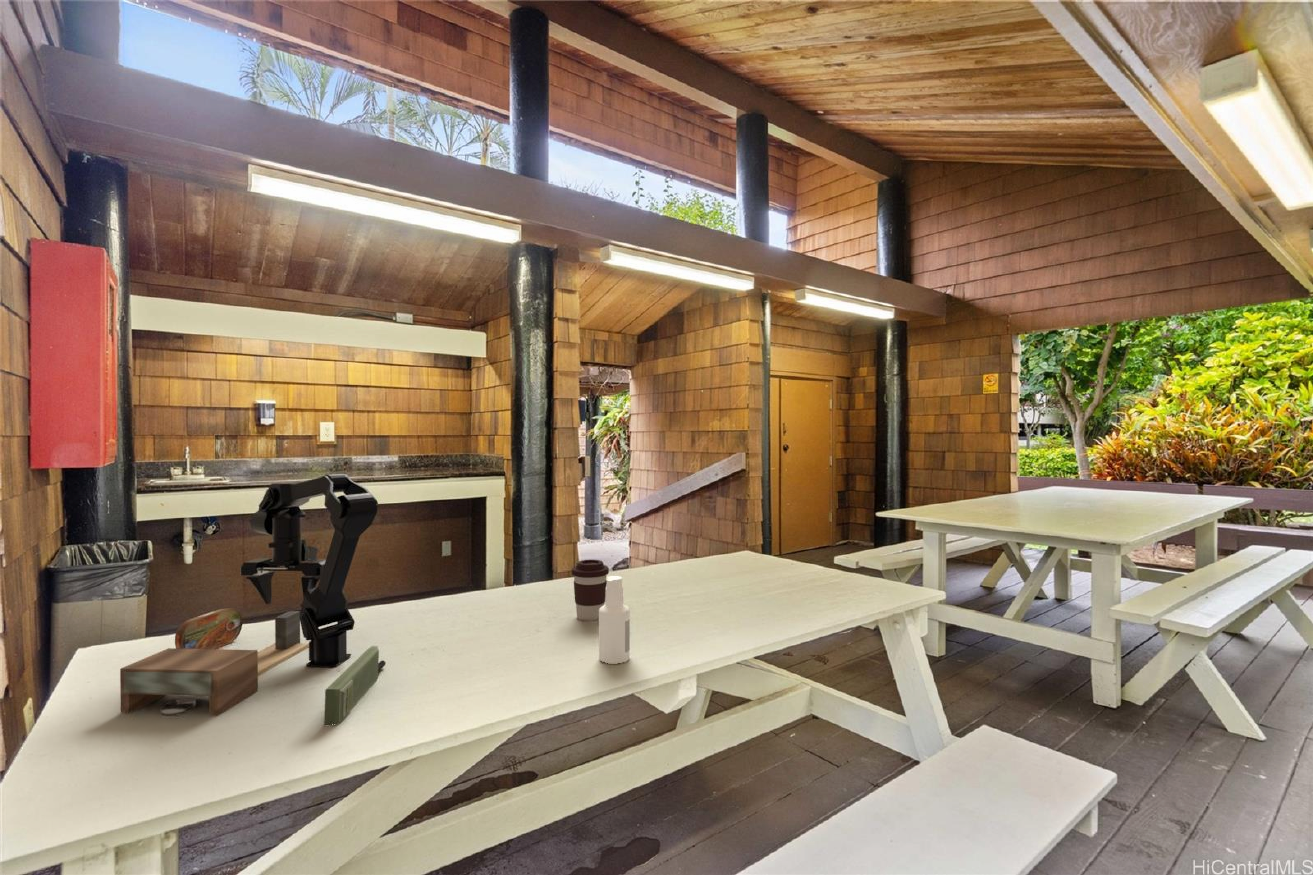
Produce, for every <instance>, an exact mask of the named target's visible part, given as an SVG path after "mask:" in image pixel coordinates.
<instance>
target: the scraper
mask: <svg viewBox="0 0 1313 875" xmlns="http://www.w3.org/2000/svg"><path fill="white" fill-rule="evenodd" d="M300 612H301V610H296V611H295V610H292V611H291V610H289V611H287V612H285V613H282V614H279V615H278V616H276V617H275V618H274V621H275V622H274V625H275V626H274V631H275V633H274V636H275V637H274V639H275V640H274V641H275V643H273V644H271V645H269V646H267V647H265V648H263V649H262V650H260V651H259V650H258V677H259V676H261V675H263V674H265V673H267V672H268V671H270V670H272V669H274V668H275V667H277V666H278V664H279V665H280V664H282V663H284V662H286V661H287V660H289V659H291V658H292V657H294V656H296V655H298V654H300V653H301V652H303V651H305V650H306V649H309V643H306V642H305V643H301V623H300V618H299V616H300ZM302 650H303V651H302ZM285 660H286V661H285Z"/></svg>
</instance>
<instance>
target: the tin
mask: <svg viewBox="0 0 1313 875" xmlns="http://www.w3.org/2000/svg"><path fill="white" fill-rule="evenodd" d="M242 628H243V617H242V615H241V613H240V612H239V611H238V609H235V608H231V607H229V608H228V607H227V608H220V609H217V610H214V611H210V612H208V613H205V614H201V615H199V616H195V617H192V618H190V619H187V620H186V621H184V622H183V623H181V625H180V626H179V627H178V628H177V631H176V632H175V636H174V644H175V645H174V646H175V648H178V649H219V648H220V649H221V648H222V647H225V646H228V645H230V644H231V643H233V642H234V641H235V640H236V639H237V638H238V637H239V635H240V634H241V632H242Z"/></svg>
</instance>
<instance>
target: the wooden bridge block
mask: <svg viewBox="0 0 1313 875" xmlns="http://www.w3.org/2000/svg"><path fill="white" fill-rule="evenodd" d="M258 652H259V650H258V649H227V648H226V649H225V648H223V649H221V648H220V649H219V648H218V649H178V648H176V647H175V648H173V647H172V648H171V647H170V648H169V647H168V648H165V649H164V650H161V651H159V652H156V653H153V654H152V655H150V656H147V657H145V658H143V659H140V660H138V661H135V662H133V663H131V664H128V665H126V666H123V667H121V668H119V669H120V672H119V673H120V674H119V676H120V678H119V680H120V682H119V684H120V685H119V686H120V687H119V688H120V695H119V696H120V714H131V713H132V711H133V712H135V711H137V710H138V709H140V708H142V707H144V706H147V705H149V704H151V702H154V701H156V700H159V699H160V698H163V697H164V696H194V697H196V696H199V697H201V696H202V697H203V696H204V697H209V699H208V700H209V701H208V702H209V716H214V717H218V716H220V715H221V714H223V713H225V712H226V711H228V710H230V709H231V708H233V707H235V706H236V705H238V704H239V703H241V702H242V701H244V700H246V699H247V698H249V697H251V696H253V695H254V694H256V693H257V692H259V682H258V681H259V676H258ZM134 710H135V711H134ZM130 712H131V713H130Z"/></svg>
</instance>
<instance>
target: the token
mask: <svg viewBox="0 0 1313 875" xmlns="http://www.w3.org/2000/svg"><path fill="white" fill-rule="evenodd" d="M196 707H197V700H196V699H194V698H187V697H186V698H180V699H177V700H172V701H169V702H167V703H165V704H163V705H162V706H161V707H160V715H161V716H163V717H172V716H174V717H175V716H179V715H183V714H185V713H189V712H191V711H192V710H194V709H195V708H196ZM178 714H179V715H178Z"/></svg>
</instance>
